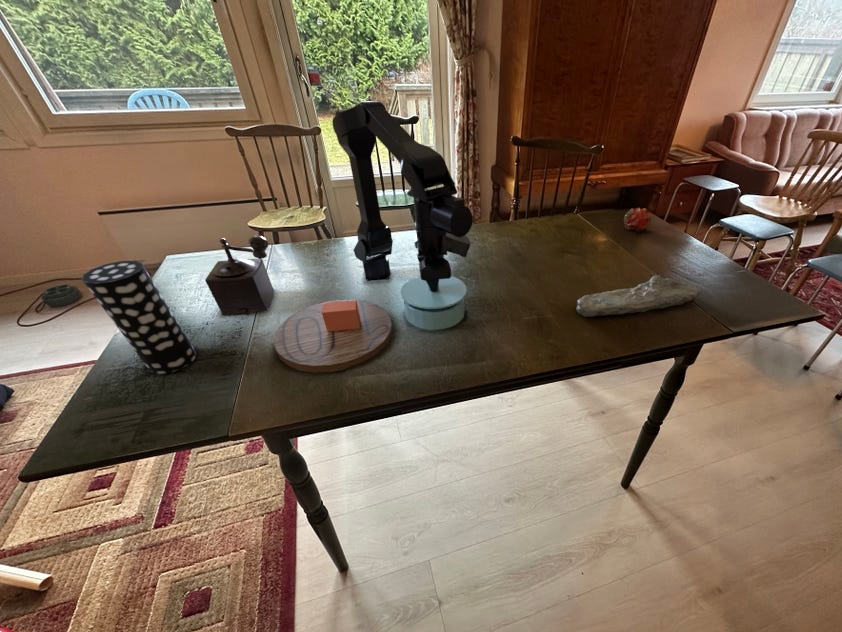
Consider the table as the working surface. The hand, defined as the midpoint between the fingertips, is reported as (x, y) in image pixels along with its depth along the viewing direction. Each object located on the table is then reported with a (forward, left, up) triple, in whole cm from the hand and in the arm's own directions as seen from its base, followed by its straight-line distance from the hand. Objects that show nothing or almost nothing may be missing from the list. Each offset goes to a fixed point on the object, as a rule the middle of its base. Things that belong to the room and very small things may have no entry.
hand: (433, 288), depth 87 cm
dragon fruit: (+79, +44, -7) cm, 91 cm away
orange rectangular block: (-21, -4, -5) cm, 22 cm away
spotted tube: (-55, -8, -7) cm, 56 cm away
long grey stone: (+52, -4, -7) cm, 53 cm away
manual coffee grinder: (-43, +13, -7) cm, 45 cm away
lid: (0, 0, -1) cm, 1 cm away
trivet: (-23, -5, -7) cm, 25 cm away
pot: (0, 0, -7) cm, 7 cm away
